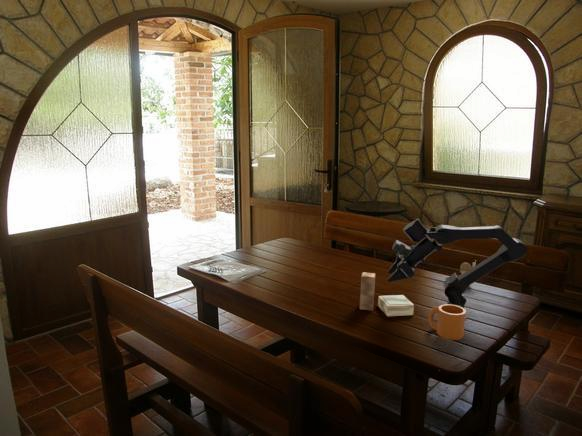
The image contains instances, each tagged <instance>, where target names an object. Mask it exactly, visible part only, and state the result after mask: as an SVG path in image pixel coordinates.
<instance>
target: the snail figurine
mask: <svg viewBox="0 0 582 436" xmlns="http://www.w3.org/2000/svg"><path fill="white" fill-rule="evenodd" d="M474 261H475V262H472V265H471V264H470V263H468V262H462V263H461V264H460V271H459V272H460V273H461V274H460V275H462V274H464V273H465V272H467V271H469V270H470V269H472V268H473V267H475V266H476V265H477V263H476V262H477V260H476V259H475V260H474Z"/></svg>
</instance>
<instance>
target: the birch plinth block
mask: <svg viewBox="0 0 582 436" xmlns="http://www.w3.org/2000/svg"><path fill="white" fill-rule="evenodd" d="M377 301H378V302H377V307H379V309H380V310H381V311H382V312H383V313H384V314H385V315H386V317H399V316H400V317H401V316H404V317H405V316H414V309H415V304H414V303H413V302H412V301H410V299H408V298H407V297H406V296H405V295H404V294H397V295H396V294H391V295H379V296H378V300H377Z"/></svg>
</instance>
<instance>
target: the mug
mask: <svg viewBox="0 0 582 436" xmlns="http://www.w3.org/2000/svg"><path fill="white" fill-rule="evenodd" d="M436 314H437V323H436V322H435V319H434V316H435V315H436ZM466 315H467V310H466V308H465V307H464V308H463V307H460V306H457V305H452V304H447V303H445V304H440V305H439V306H434V307H432V308H431V309H430V310H429V312H428V316H427V318H428V322H429V326H431V328H432V329H433V330H434V331H436V334H437V335H438V336H439V337H441V338H444V339H446V340H451V341H452V340H454V341H458V340H461V339H463V338H464V334H465V324H466V319H465V317H467V316H466Z"/></svg>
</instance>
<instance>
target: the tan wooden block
mask: <svg viewBox="0 0 582 436" xmlns="http://www.w3.org/2000/svg"><path fill="white" fill-rule="evenodd" d="M375 285H376V273H375V272H365V271H364V272H363V271H362V272H361V279H360V293H359V294H360V297H359V310H363V311H372V312H373V311H374V304H375V303H374V299H375Z"/></svg>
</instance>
